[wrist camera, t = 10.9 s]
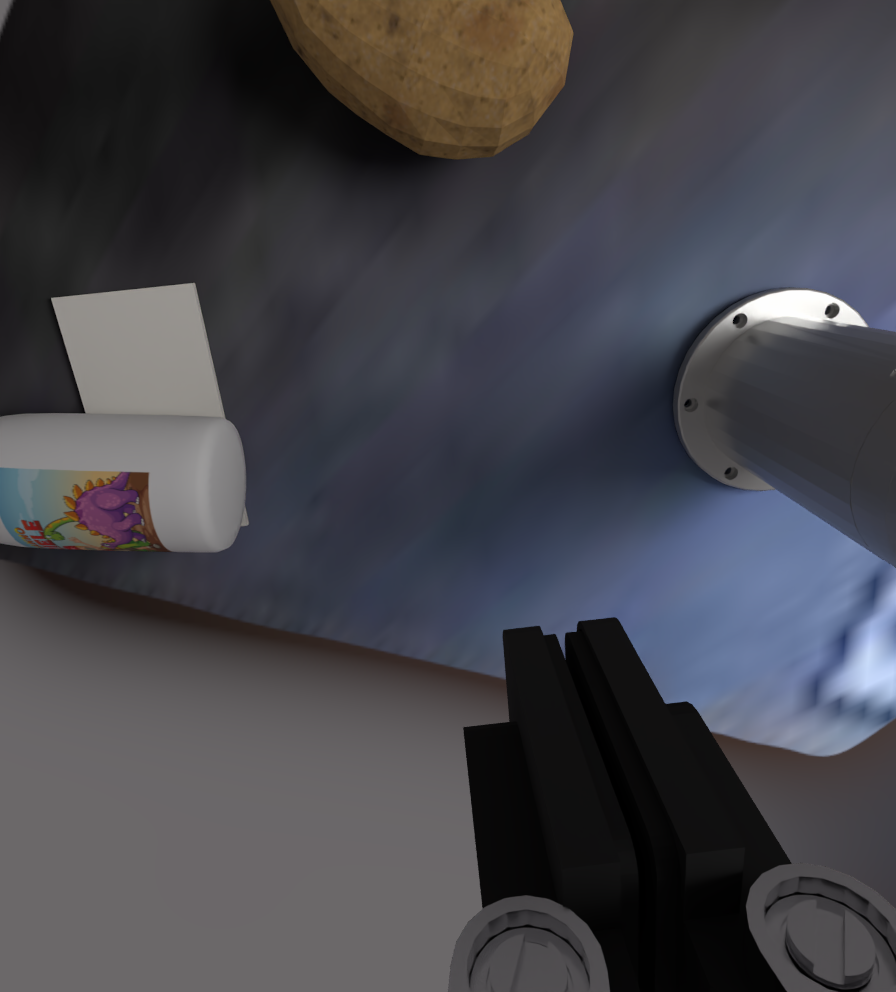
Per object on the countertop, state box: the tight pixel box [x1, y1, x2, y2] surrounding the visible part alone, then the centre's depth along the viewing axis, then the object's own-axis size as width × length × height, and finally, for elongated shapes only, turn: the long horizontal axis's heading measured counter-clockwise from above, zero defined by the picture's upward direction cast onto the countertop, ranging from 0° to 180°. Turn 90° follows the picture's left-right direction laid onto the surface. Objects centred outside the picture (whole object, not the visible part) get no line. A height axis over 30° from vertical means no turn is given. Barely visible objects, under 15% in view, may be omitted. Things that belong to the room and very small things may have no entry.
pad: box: [51, 283, 249, 526], centre depth 40 cm, size 8×15×1 cm, turn 6°
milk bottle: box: [0, 413, 246, 552], centre depth 37 cm, size 8×8×20 cm
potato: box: [270, 0, 573, 159], centre depth 30 cm, size 10×14×8 cm
